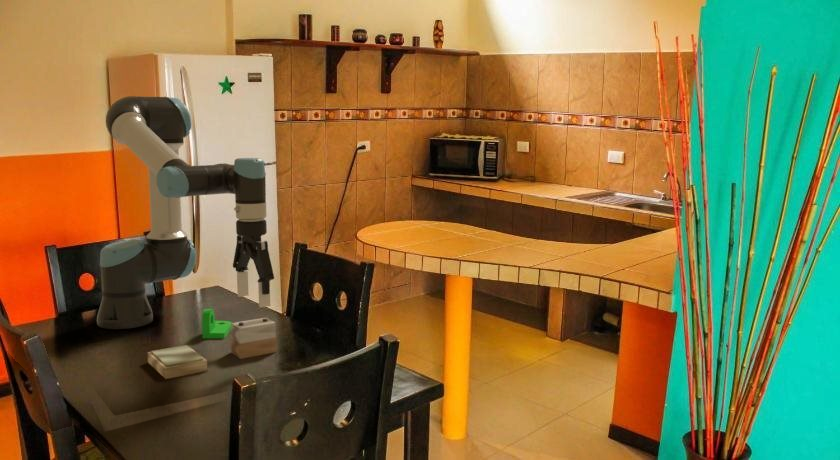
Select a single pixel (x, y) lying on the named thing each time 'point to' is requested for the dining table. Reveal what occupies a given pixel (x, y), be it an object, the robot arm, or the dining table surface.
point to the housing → (253, 338)
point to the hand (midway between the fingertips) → (253, 301)
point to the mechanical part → (214, 325)
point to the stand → (177, 361)
